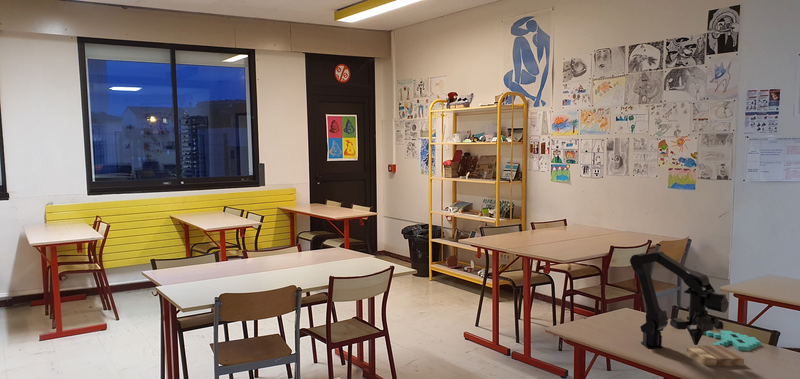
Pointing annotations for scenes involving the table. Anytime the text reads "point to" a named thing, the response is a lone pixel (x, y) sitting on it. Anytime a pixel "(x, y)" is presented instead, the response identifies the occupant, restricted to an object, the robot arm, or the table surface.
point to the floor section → (723, 355)
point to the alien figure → (735, 340)
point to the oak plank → (702, 356)
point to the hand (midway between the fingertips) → (695, 344)
